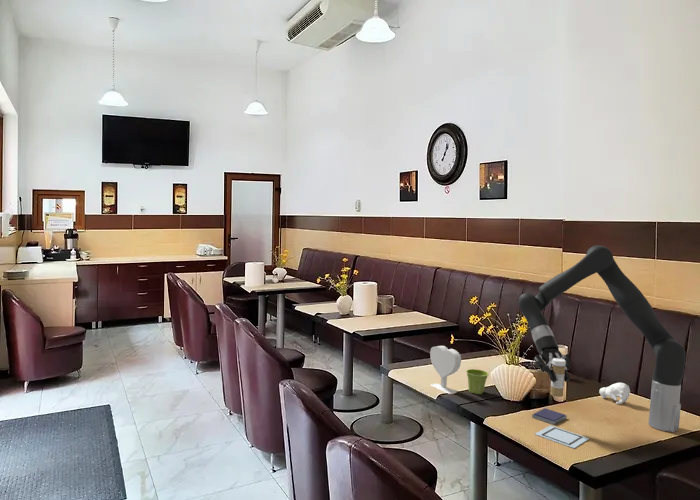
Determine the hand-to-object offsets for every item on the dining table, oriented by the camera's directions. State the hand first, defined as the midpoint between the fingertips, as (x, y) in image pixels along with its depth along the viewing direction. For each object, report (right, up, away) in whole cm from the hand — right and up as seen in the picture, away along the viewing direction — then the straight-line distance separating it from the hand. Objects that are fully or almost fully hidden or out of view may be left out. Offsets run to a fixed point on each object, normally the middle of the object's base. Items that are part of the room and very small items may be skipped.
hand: (561, 380), depth 192 cm
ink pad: (0, -17, +11) cm, 20 cm away
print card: (-2, -18, -6) cm, 19 cm away
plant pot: (-22, -14, +37) cm, 45 cm away
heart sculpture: (-36, -13, +40) cm, 55 cm away
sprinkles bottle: (-1, -6, +3) cm, 7 cm away
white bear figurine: (+35, -17, +33) cm, 51 cm away
